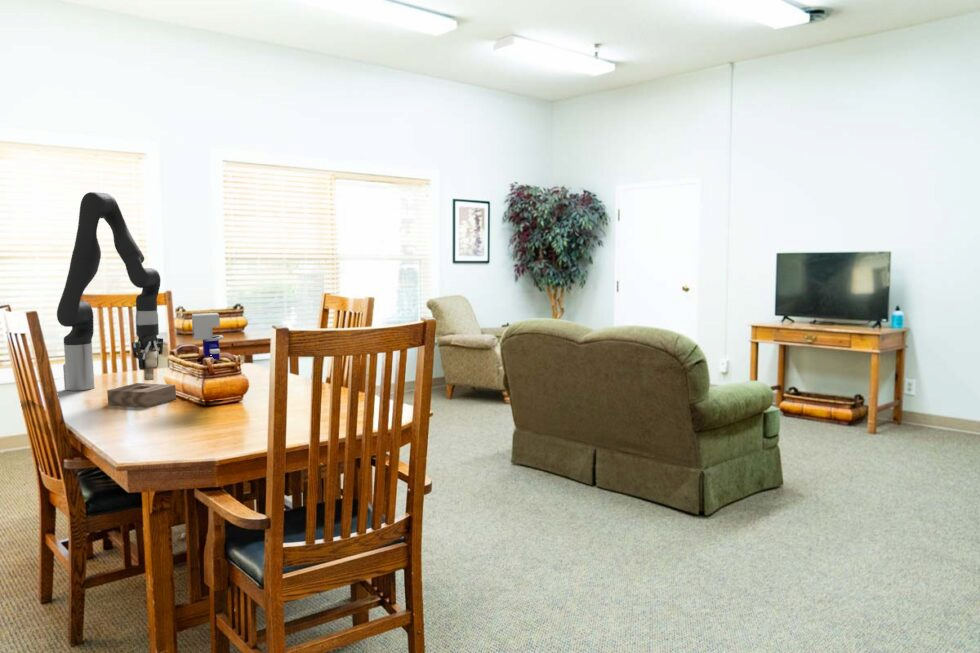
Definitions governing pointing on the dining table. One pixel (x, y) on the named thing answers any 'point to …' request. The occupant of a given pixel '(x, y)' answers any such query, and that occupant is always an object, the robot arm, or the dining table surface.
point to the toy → (207, 332)
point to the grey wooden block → (141, 395)
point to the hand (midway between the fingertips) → (148, 367)
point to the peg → (150, 365)
